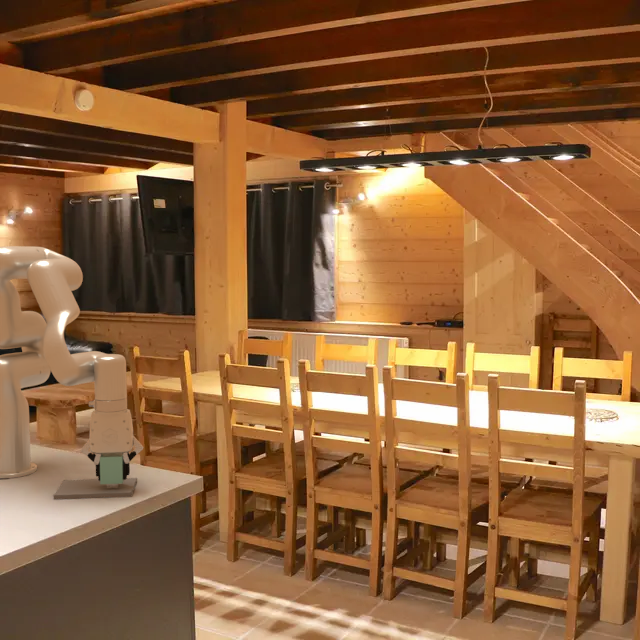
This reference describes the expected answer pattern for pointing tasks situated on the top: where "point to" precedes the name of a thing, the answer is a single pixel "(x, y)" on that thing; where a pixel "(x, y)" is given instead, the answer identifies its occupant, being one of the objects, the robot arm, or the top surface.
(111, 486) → the post
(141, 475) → the top surface
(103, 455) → the sage green cube
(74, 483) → the stand board
